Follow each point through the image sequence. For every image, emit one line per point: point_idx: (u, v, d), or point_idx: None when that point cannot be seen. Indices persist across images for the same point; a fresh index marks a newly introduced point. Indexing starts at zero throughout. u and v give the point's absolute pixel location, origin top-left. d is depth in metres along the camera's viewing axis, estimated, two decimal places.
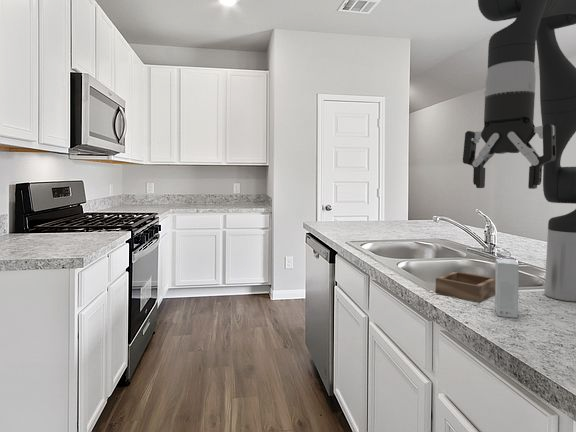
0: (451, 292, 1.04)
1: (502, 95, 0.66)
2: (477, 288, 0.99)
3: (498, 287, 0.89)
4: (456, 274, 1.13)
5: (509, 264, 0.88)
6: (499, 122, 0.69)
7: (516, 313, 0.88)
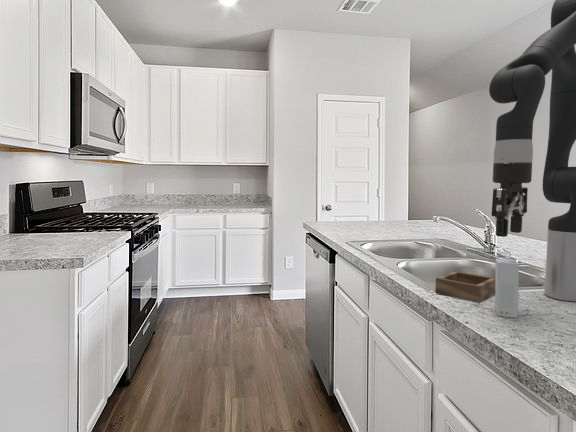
0: (451, 292, 1.04)
1: (531, 164, 0.86)
2: (477, 288, 0.99)
3: (498, 287, 0.89)
4: (456, 274, 1.13)
5: (509, 264, 0.88)
6: (516, 183, 0.87)
7: (516, 313, 0.88)
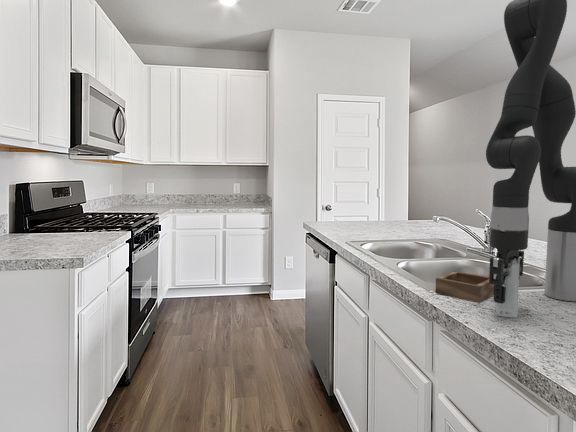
0: (451, 292, 1.04)
1: (527, 231, 0.87)
2: (477, 288, 0.99)
3: None
4: (456, 274, 1.13)
5: (509, 264, 0.88)
6: (513, 249, 0.89)
7: (516, 313, 0.88)
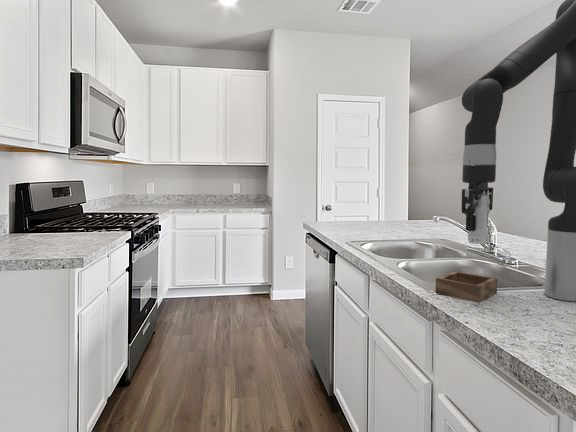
0: (451, 292, 1.04)
1: (495, 166, 0.98)
2: (477, 288, 0.99)
3: None
4: (456, 274, 1.13)
5: None
6: (482, 183, 0.99)
7: (485, 240, 0.98)
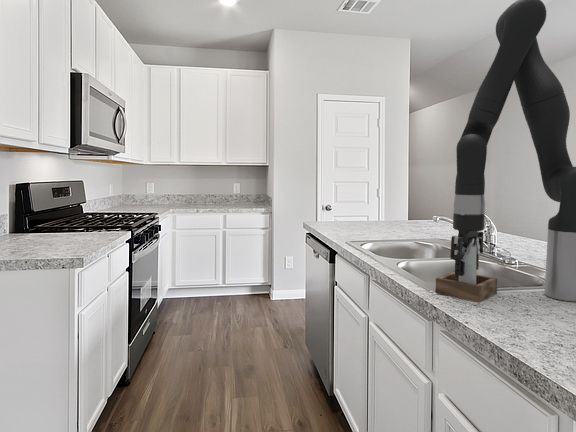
0: (451, 292, 1.04)
1: (483, 215, 1.03)
2: (477, 288, 0.99)
3: None
4: None
5: None
6: (472, 231, 1.04)
7: None
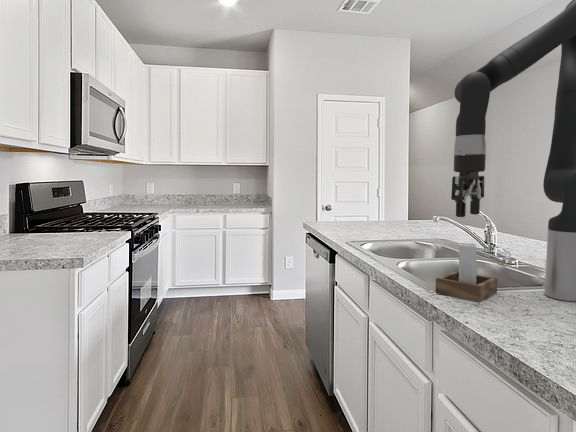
0: (451, 292, 1.04)
1: (484, 155, 1.02)
2: (477, 288, 0.99)
3: (459, 266, 1.05)
4: (456, 274, 1.13)
5: (468, 247, 1.04)
6: (472, 172, 1.03)
7: None
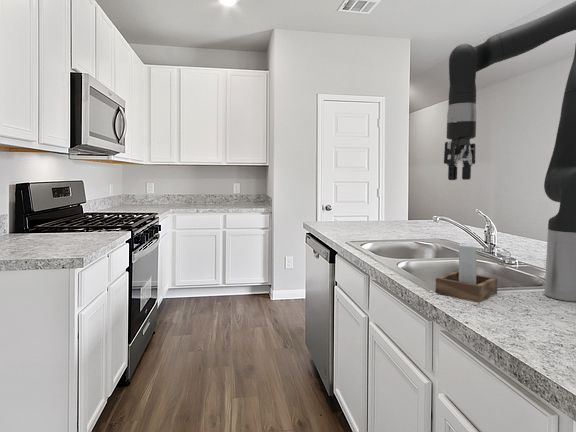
0: (451, 292, 1.04)
1: (475, 122, 1.09)
2: (477, 288, 0.99)
3: (459, 266, 1.05)
4: (456, 274, 1.13)
5: (468, 247, 1.04)
6: (464, 138, 1.11)
7: None
